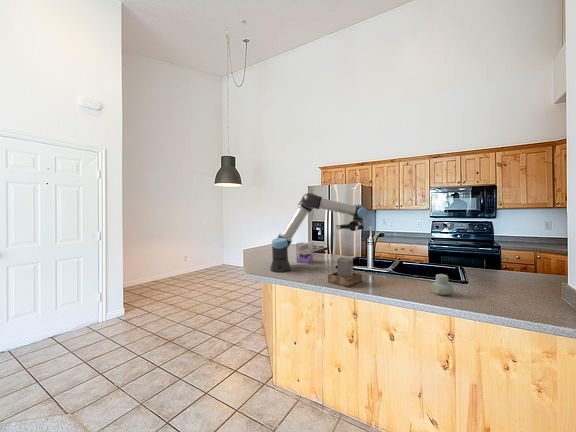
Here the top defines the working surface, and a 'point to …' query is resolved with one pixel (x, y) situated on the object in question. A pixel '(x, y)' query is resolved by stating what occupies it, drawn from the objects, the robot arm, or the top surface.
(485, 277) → the top surface
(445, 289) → the air freshener
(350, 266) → the pillar candle
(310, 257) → the candy box
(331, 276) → the walnut crate
